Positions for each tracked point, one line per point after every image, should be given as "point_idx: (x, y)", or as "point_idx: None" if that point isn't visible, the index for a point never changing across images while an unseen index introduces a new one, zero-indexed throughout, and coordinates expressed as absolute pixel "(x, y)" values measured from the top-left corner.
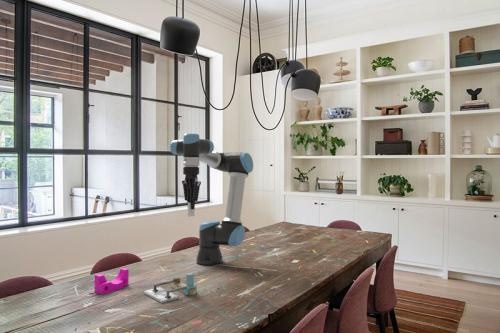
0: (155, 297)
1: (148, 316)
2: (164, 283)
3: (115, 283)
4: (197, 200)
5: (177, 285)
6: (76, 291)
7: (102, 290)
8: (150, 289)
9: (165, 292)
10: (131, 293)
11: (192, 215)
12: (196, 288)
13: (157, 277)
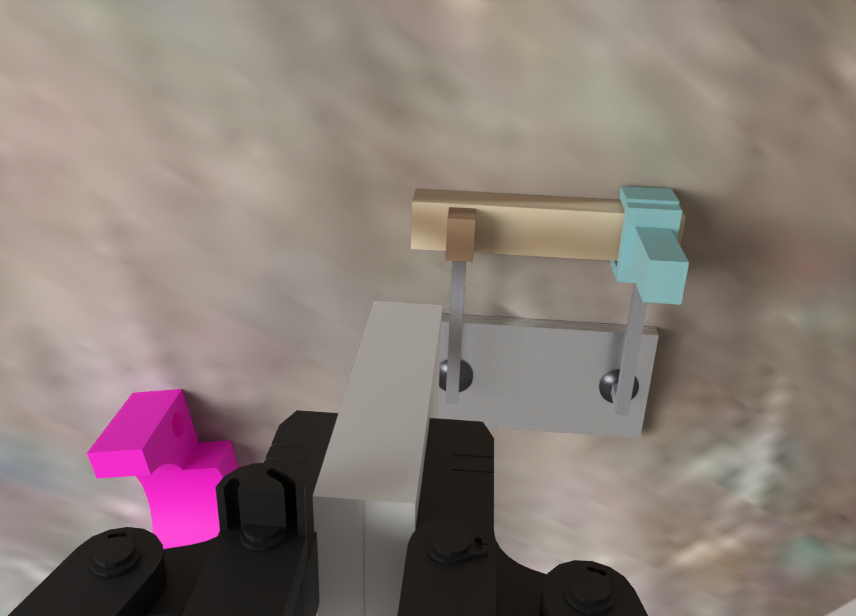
0: (561, 432)
1: (727, 548)
2: (461, 334)
3: (216, 498)
4: (631, 593)
5: (508, 251)
6: None
7: None
8: None
9: (533, 352)
10: None
11: (438, 356)
12: (676, 200)
13: (140, 175)
